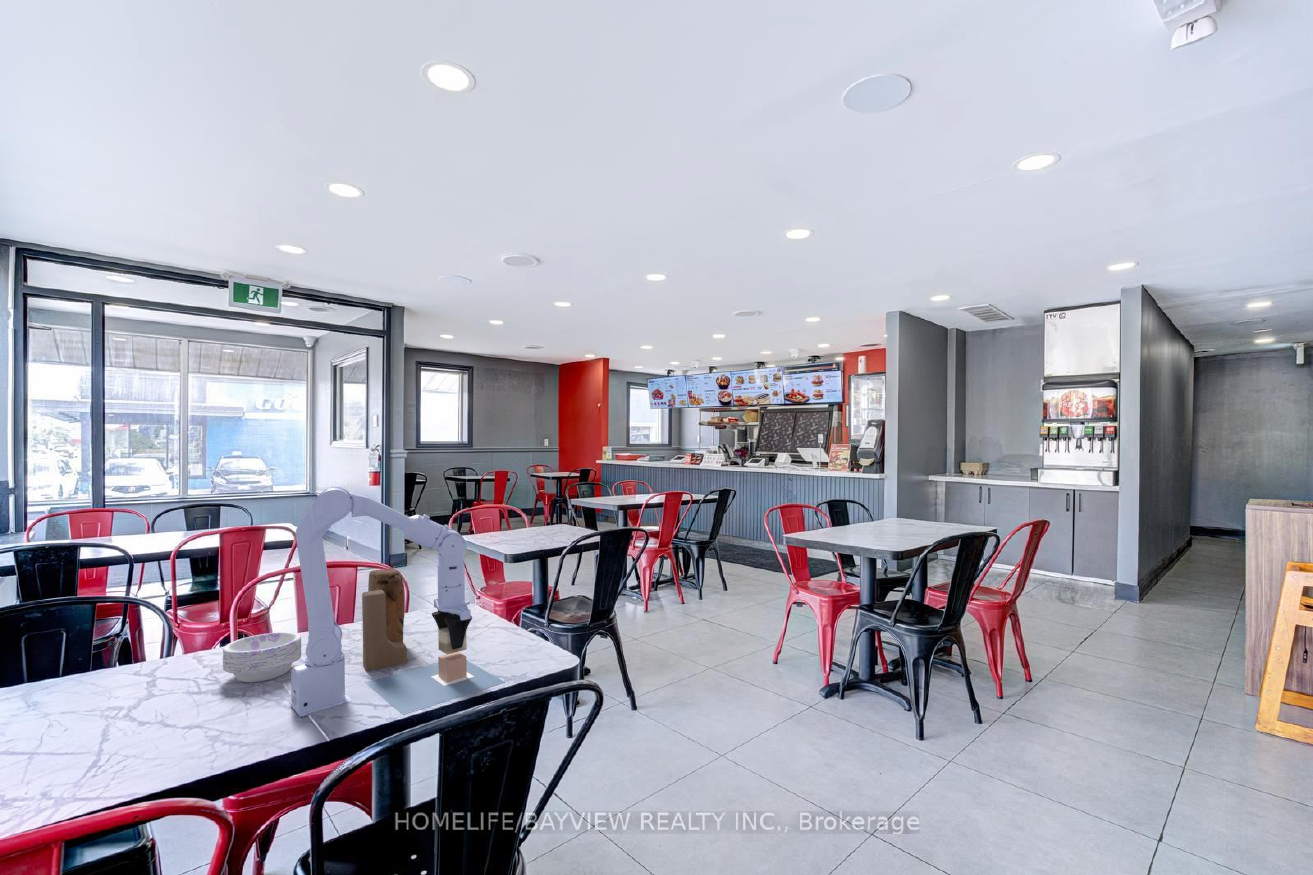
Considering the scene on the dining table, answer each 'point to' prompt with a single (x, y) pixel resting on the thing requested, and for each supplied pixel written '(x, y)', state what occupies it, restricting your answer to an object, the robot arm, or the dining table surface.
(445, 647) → the maple block
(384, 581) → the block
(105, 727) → the dining table surface
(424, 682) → the board
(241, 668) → the paper bowls
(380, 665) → the wooden block
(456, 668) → the terracotta block
